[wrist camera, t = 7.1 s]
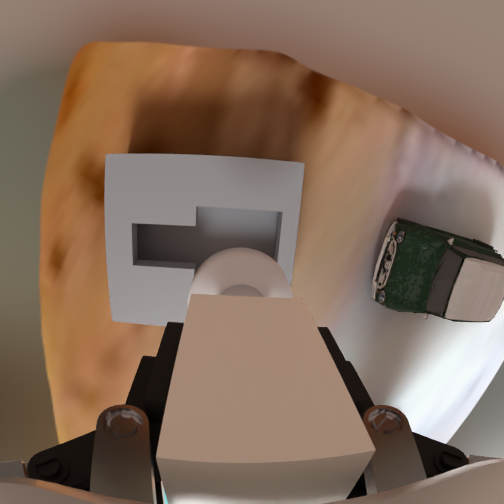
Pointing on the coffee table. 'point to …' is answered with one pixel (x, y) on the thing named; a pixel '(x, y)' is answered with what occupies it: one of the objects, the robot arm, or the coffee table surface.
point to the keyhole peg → (256, 396)
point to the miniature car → (438, 274)
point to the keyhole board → (190, 224)
